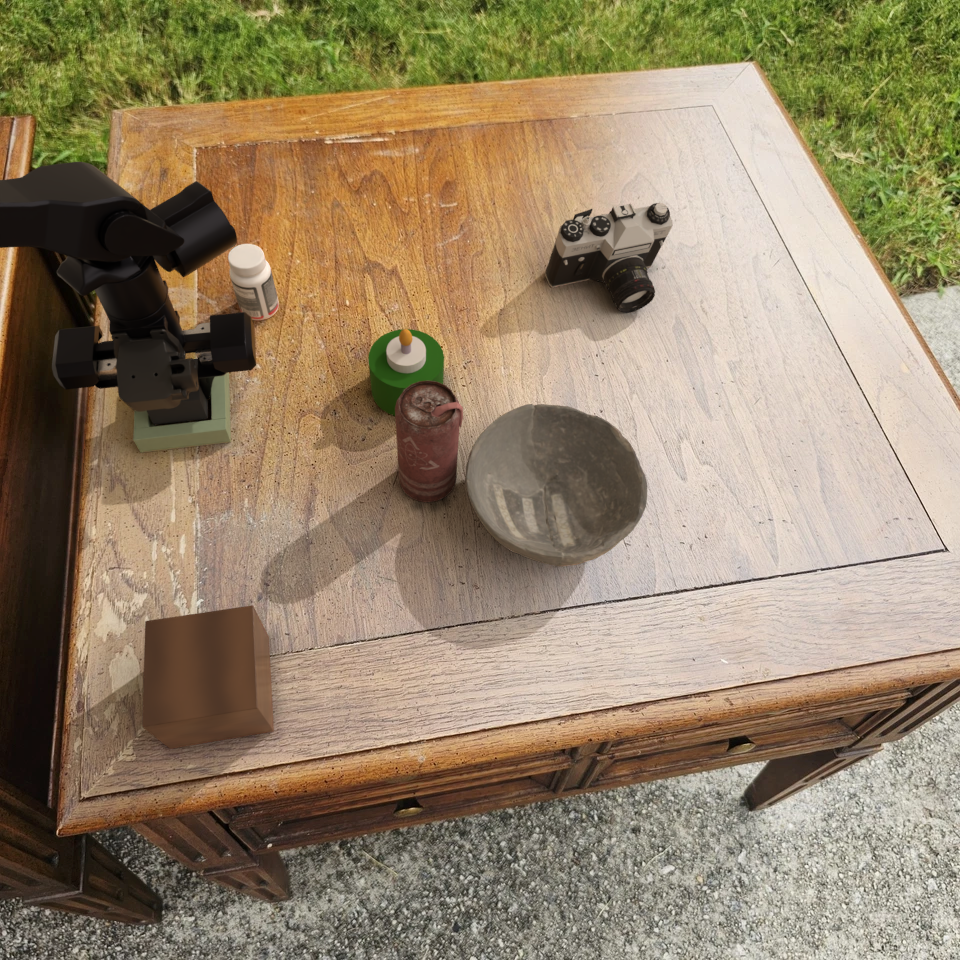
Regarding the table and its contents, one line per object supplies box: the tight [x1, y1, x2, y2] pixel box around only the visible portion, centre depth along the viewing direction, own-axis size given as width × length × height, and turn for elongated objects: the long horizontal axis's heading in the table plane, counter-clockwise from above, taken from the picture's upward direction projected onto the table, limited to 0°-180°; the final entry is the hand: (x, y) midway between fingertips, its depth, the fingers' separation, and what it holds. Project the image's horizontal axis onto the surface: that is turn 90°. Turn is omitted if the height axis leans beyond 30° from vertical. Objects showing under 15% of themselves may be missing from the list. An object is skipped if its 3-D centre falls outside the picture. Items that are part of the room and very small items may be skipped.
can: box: [394, 380, 464, 503], centre depth 79 cm, size 6×6×14 cm
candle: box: [367, 328, 445, 417], centre depth 87 cm, size 8×8×10 cm
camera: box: [544, 202, 673, 314], centre depth 97 cm, size 15×11×10 cm
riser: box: [141, 604, 275, 750], centre depth 69 cm, size 9×9×8 cm
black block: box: [147, 357, 209, 426], centre depth 84 cm, size 6×6×4 cm
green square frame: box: [132, 372, 232, 454], centre depth 87 cm, size 10×10×2 cm
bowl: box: [464, 403, 648, 568], centre depth 80 cm, size 18×18×8 cm
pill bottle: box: [227, 243, 280, 321], centre depth 93 cm, size 5×5×8 cm
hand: (180, 399), depth 86 cm, fingers closed on black block, 5 cm apart
